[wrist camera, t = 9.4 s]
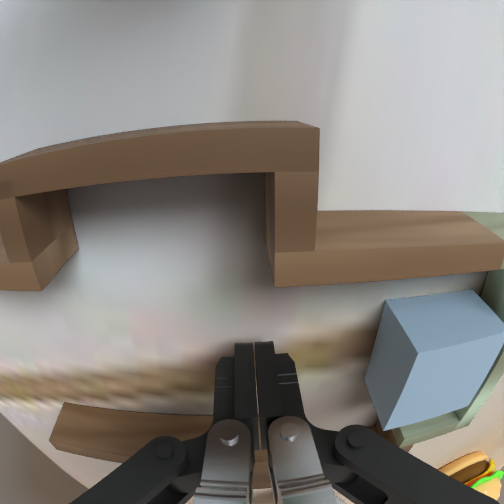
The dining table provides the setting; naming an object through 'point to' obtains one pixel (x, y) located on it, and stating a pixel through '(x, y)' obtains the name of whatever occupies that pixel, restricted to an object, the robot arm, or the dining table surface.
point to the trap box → (277, 240)
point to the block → (431, 355)
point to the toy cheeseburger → (476, 473)
